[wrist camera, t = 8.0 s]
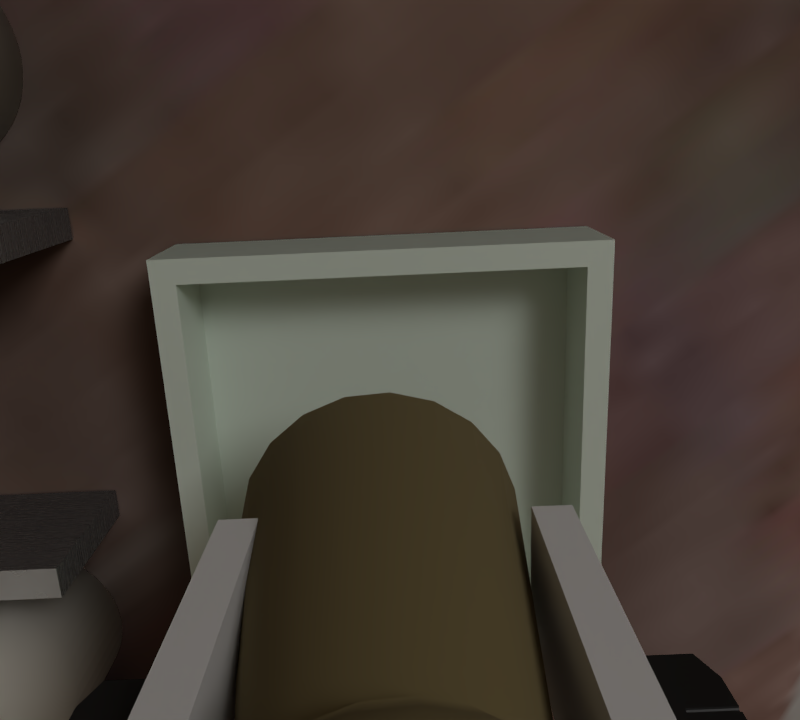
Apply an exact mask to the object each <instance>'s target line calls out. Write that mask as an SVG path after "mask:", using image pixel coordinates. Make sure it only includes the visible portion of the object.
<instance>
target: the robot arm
mask: <svg viewBox="0 0 800 720" xmlns="http://www.w3.org/2000/svg"><path fill="white" fill-rule="evenodd" d="M257 523H258V518H249V519H226V520H218V521H217V523H216V525H215V528H214V530H213V532H212V534H211V537H210V539H209V541H208V543H207V545H206V548H205V550H204V552H203V554H202V556H201V559H200V561H199V563H198V565H197V567H196V570H195V572H194V574H193V576H192V578H191V581H190V583H189V585H188V587H187V589H186V592H185V594H184V596H183V598H182V601H181V603H180V605H179V607H178V609H177V612H176V614H175V616H174V618H173V620H172V623H171V625H170V627H169V629H168V631H167V634H166V636H165V638H164V640H163V642H162V645H161V647H160V649H159V651H158V653H157V656H156V658H155V660H154V662H153V665H152V667H151V669H150V671H149V673H148V676H147V678H146V679H132V680H108V681H103V682H102V683H101V684H100V685H99V686H98V687H97V688H96V689H95V690H93V691H92V692H91V693H90V694H89V695H88V696H87V697H86V698H85V699H84V700H83V701H82V702H81V703H79V704H78V705H77V706H76V708H75V709H74V711H73V713H72V715H71V717H70V718H69V720H235V693H236V671H237V661H238V652H239V643H240V633H241V624H242V615H243V606H244V596H245V587H246V581H247V575H248V570H249V565H250V559H251V554H252V549H253V544H254V538H255V533H256V528H257ZM531 590H532V596H533V602H534V608H535V614H536V621H537V627H538V633H539V639H540V645H541V651H542V657H543V663H544V669H545V675H546V681H547V687H548V693H549V699H550V705H551V708H552V712H553V716H554V719H555V720H747V719H746V717H745V716H744V714H743V712H740V711H739V706H738V704H737V702H736V701H735V699H734V698H733V696H732V694H731V693H730V691H729V689H728V688H727V686H726V684H725V683H724V681H723V679H722V678H721V677H720V676H719V675H718V674H717V673H715V672H714V671H713V670H712V669H710V668H709V667H708V666H707V665H706V664H704V663H703V662H702V661H701V660H700V659H698V658H697V657H696V656H695V655H694V654H674V655H650V656H646V655H645V653H644V651H643V649H642V647H641V645H640V643H639V641H638V639H637V637H636V635H635V633H634V631H633V629H632V627H631V625H630V623H629V620H628V618H627V616H626V614H625V612H624V610H623V608H622V606H621V604H620V602H619V600H618V598H617V596H616V594H615V592H614V590H613V588H612V586H611V583H610V581H609V579H608V577H607V575H606V573H605V571H604V569H603V567H602V565H601V563H600V561H599V559H598V557H597V555H596V553H595V551H594V548H593V546H592V544H591V542H590V540H589V538H588V536H587V534H586V532H585V530H584V528H583V526H582V524H581V522H580V520H579V518H578V516H577V514H576V511H575V509H574V507H573V505H556V506H532V507H531Z"/></svg>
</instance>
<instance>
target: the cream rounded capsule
mask: <svg viewBox="0 0 800 720" xmlns="http://www.w3.org/2000/svg"><path fill="white" fill-rule="evenodd" d="M121 641H122V621H121V617H120V613H119V610H118V608H117V605H116V603H115V601H114V600H113V598H112V596H111V594H110V593H109V592H108V591H107V589H106V588H105V587H104V585H103V584H102V583H101V582H100V581H99V580H98V579H97V578H95V577H94V576H93V575H92V574H90V573H89V572H88V571H86V570H85V569H83V568H82V570H81V571H80V573H79V574H78V575H77V577H76V578H75V580H74V581H73V583H72V584H71V585H70V587H69V588H68V590H67V591H66V593H65V594H64V595H63V597H62V598H45V599H22V600H0V720H69V718H70V717H71V715H72V713H73V711H74V709H75V708H76V706H77V705H78V704H79V703H81V702H82V701H83V700H84V699H85V698H86V697H87V696H88V695H89V694H90V693H91V692H92V691H93V690H95V689H96V688H97V687H98V686H99V685H100V684H101V683H102V682H103V681H104V680H105V678H106V676H107V674H108V672H109V670H110V668H111V666H112V664H113V662H114V660H115V658H116V656H117V654H118V652H119V649H120V646H121Z"/></svg>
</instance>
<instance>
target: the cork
mask: <svg viewBox="0 0 800 720" xmlns="http://www.w3.org/2000/svg"><path fill="white" fill-rule="evenodd" d="M249 518H258V523H257V528H256V533H255V538H254V544H253V549H252V554H251V559H250V565H249V570H248V575H247V581H246V587H245V596H244V606H243V615H242V624H241V633H240V643H239V652H238V661H237V671H236V693H235V720H553V718H552V712H551V706H550V699H549V693H548V687H547V681H546V675H545V669H544V663H543V657H542V651H541V645H540V639H539V633H538V627H537V621H536V614H535V608H534V602H533V596H532V590H531V584H530V578H529V572H528V566H527V560H526V554H525V548H524V542H523V535H522V529H521V523H520V517H519V511H518V505H517V499H516V493H515V488H514V486H513V483H512V481H511V479H510V476H509V474H508V471H507V469H506V467H505V464H504V462H503V460H502V457H501V455H500V452H499V451H498V450H497V449H496V448H495V447H494V446H493V445H492V444H491V443H490V442H489V440H488V439H487V438H486V437H485V436H484V435H483V434H482V433H481V432H480V431H479V429H478V428H477V427H476V426H475V425H474V424H473V423H472V422H471V421H469V420H467V419H465V418H464V417H462V416H460V415H458V414H456V413H454V412H453V411H451V410H449V409H447V408H445V407H444V406H442V405H440V404H438V403H436V402H435V401H431V400H426V399H421V398H416V397H411V396H406V395H401V394H396V393H391V392H388V393H379V394H369V395H359V396H350V397H343V398H341V399H339V400H336V401H334V402H332V403H329V404H327V405H325V406H322V407H320V408H318V409H315V410H313V411H311V412H308V413H306V414H303V415H302V416H301V417H300V418H299V419H297V420H296V421H295V422H294V423H293V424H292V425H291V426H289V427H288V428H287V429H286V430H285V431H284V432H282V433H281V434H280V435H279V436H278V437H277V438H275V439H274V440H273V441H272V442H271V443H270V444H269V446H268V448H267V449H266V451H265V453H264V454H263V456H262V458H261V459H260V461H259V463H258V465H257V466H256V468H255V470H254V471H253V473H252V475H251V476H250V478H249V482H248V487H247V492H246V498H245V503H244V508H243V514H242V519H249Z"/></svg>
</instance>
